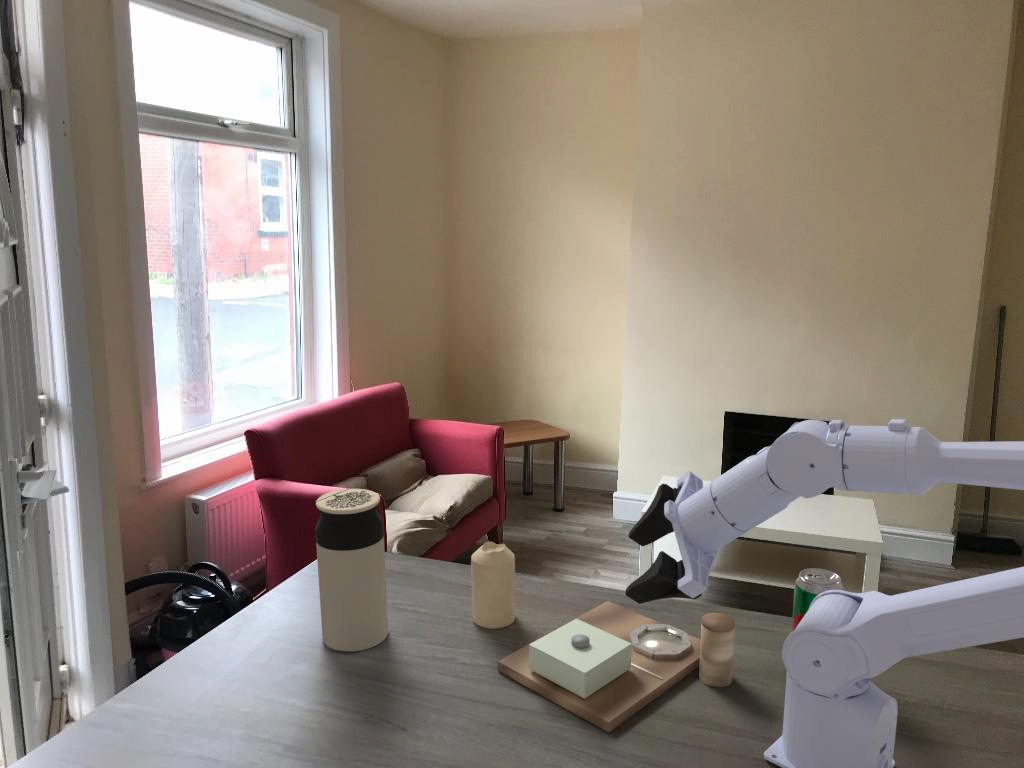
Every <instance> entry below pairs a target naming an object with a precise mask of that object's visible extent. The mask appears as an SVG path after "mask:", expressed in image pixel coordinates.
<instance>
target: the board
mask: <svg viewBox="0 0 1024 768" xmlns="http://www.w3.org/2000/svg"><path fill="white" fill-rule="evenodd" d="M575 619H579V620H581V621H583V622H585V623H587V624H590V625H592V626H594V627H596V628H598V629H601V630H603V631H605V632H607V633H609V634H612V635H614V636H616V637H618V638H620V639H623V640H625V641H627V642H629V643H631V641H630V632H632V631H634V630H635V629H637V628H638V627H640V626H642V625H645V624H663V623H661V622H660V621H656V620H654V619H652V618H650V617H647V616H645V615H643V614H640V613H637V612H636V611H632V610H631V609H629V608H627V607H625V606H621V605H619V604H616V603H614V602H612V601H609V600H606V601H605V602H603V603H601V604H599V605H597V606H595V607H594V608H592V609H590V610H588V611H586V612H585V613H583V614H581V615H579V616H578V617H575V618H574V619H572V620H570V621H568V622H567V623H569V622H571V621H573V620H575ZM567 623H565V624H563V625H560V626H559V627H557V628H556V629H558V628H560V627H562V626H564V625H566V624H567ZM556 629H554V630H552V631H550V632H548V633H546V634H545V635H543V636H542V637H544V636H546V635H547V634H549V633H551V632H553V631H555V630H556ZM687 635H688V637H689V640H690V642H691V650H690V651H689V652H687V653H686V654H684V655H683V656H681V657H680V658H677V659H654V658H653V659H651V658H649V657H647V656H645V655H643V654H641V653H638V652H636V651H634V649H633V648H631V668H630V669H629V670H627V671H626V672H624V673H623V674H621V675H620V676H618V677H617V678H615V679H614V680H612V681H611V682H609V683H608V684H606V685H605V686H603V687H602V688H600V689H599V690H597V691H595V692H594V693H592V694H591V695H589V696H588V697H586V698H585V699H584V698H582V697H580V696H579V695H577V694H575V693H573V692H571V691H569V690H567V689H566V688H564V687H562V686H560V685H558V684H556V683H554V682H553V681H551V680H549V679H547V678H545V677H543V676H541V675H540V674H538V673H536V672H534V671H532V670H530V669H529V644H531V643H533V642H535V641H536V640H538V639H540V638H542V637H539V638H537V639H536V640H534V641H531V642H530V643H528V644H527V645H524V646H522V647H521V648H518V649H517V650H516V651H514V652H512V653H511V654H508V655H506V656H505V657H503V658H501V659H499V660H498V661H497V671H498V672H500V673H501V674H503V675H505V676H507V677H509V678H510V679H512V680H514V681H516V682H517V683H520V684H521V685H523V686H524V687H526V688H528V689H530V690H532V691H534V692H535V693H537V694H538V695H541V696H542V697H544V698H546V699H548V700H549V701H551V702H554V703H555V704H557V705H559V706H560V707H562V708H564V709H565V710H567V711H569V712H571V713H572V714H575V715H577V716H578V717H580V718H582V719H583V720H586V721H587V722H589V723H590V724H592V725H594V726H596V727H598V728H599V729H601V730H603V731H605V732H606V733H610V732H612V731H613V730H615V728H617V727H618V726H620V725H621V724H623V723H624V722H626V721H627V720H628V719H629V718H631V717H632V716H634V715H635V714H637V712H639V711H641V710H642V709H643V708H645V707H646V706H647V705H649V704H650V703H651V702H653V701H654V700H655V699H657V698H659V697H660V696H661V695H662V694H664V693H665V692H666V691H668V690H670V689H671V688H672V687H673V686H675V685H677V684H678V683H679V682H680V681H682V680H683V679H684V678H686V677H687V676H688V675H690V674H692V673H693V672H694V671H696V670H697V669H698V668H699V665H700V643H701V638H700V639H699V638H697V637H695V636H693V635H690V634H688V633H687Z"/></svg>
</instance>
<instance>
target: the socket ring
mask: <svg viewBox="0 0 1024 768" xmlns="http://www.w3.org/2000/svg"><path fill="white" fill-rule="evenodd" d="M687 634H688V633H687V632H686V631H684V630H682V629H680V628H677V627H674V626H672V625H669V624H666V623H662V624H645V625H642V626H640V627H638V628H637V629H635V630H634V631H632V632H630V641H631V644H632V648H633V649H634V651H636V652H638V653H641V654H643V655H645V656H647V657H649V658H651V659H653V658H654V659H677V658H680V657H681V656H683V655H684V654H686V653H687V652H689V651H690V650H691V642H690V640H689V637H688V635H689V634H688V635H687Z"/></svg>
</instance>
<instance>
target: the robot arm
mask: <svg viewBox="0 0 1024 768" xmlns="http://www.w3.org/2000/svg"><path fill="white" fill-rule="evenodd" d="M908 424H909V423H908V420H907V419H906V418H892V419H890V421H889V422H888V423H887V426H886V425H855V424H854V425H852V424H851V425H849V424H848V425H847V424H846V425H845V422H844V420H843V419H833V420H831V421H829V423H828V422H826V421H823V420H821V419H820V420H819V419H807V420H803V421H800V422H798V421H796V422H794V423H793V424H792V425H790V427H789V428H788V430H787V431H785V432H784V433H783V434H781V435H780V436H779V437H777V438H776V439H775V441H773V443H772V444H770V445H769V446H765V447H763V448H761V449H760V450H759V451H758V452H757V453H756V454H753V455H750V456H748V457H746V458H745V459H743V460H742V461H740V462H739V463H738V464H736V465H735V466H733V467H732V468H730V469H729V470H727V471H726V472H724V473H722V474H721V475H719V476H718V477H716V478H715V479H714V480H712V481H711V482H709V483H708V484H706V485H705V486H704V482H703V481H704V480H703V479H701V477H699V476H697V475H696V474H695V473H693V472H692V471H691V470H689V471H687V472H685V474H683V475H682V476H680V477H679V478H677V479H676V486H677V487H674V488H672V487H671V486H670V485H668V484H667V483H662V484H660V485H659V486H658V488H657V490H656V493H655V496H654V498H653V500H652V501H651V503H650V505H649V506H648V508H647V509H646V511H645V512H644V513H643V515H642V516H641V517H640V519H639V520H638V521H637V522H636V523H635V525H634V526H633V527H632V528H631V530H630V531H629V533H628V538H629V539H630V540H632V541H633V542H635V543H636V544H638V546H641V547H645V546H648V545H650V544H653V543H654V542H656V541H658V540H660V539H662V538H663V537H665V536H667V535H670V534H671V533H673V532H674V535H675V538H676V543H677V547H678V550H679V553H680V557H681V559H680V560H679V561H677V560H676V558H673V557H672V556H670V554H668V553H666V552H665V551H663V550H661V551H659V552H658V555H657V557H656V559H655V560H654V562H653V563H652V565H651V566H650V567H649V568H648V569H647V570H646V571H645V572H644V573H643V574H641V575H640V576H639V577H637V578H636V579H635V580H633V581H632V582H631V583H630V584H629V585H628V586H627V587H626V589H625V596H626V597H628V598H629V599H631V600H632V601H634V602H635V603H637V604H639V605H641V604H645V603H648V602H652V601H656V600H663V599H674V598H675V599H691V600H698V599H699V598H701V597H702V596H703V593H705V592H706V591H708V580H709V577H710V574H711V570H712V568H713V566H714V563H715V560H716V557H717V555H718V552H719V550H720V549H721V548H723V547H725V546H726V545H728V544H730V543H731V542H732V541H735V540H736V539H738V538H739V537H741V536H743V535H745V534H746V533H748V532H749V531H751V530H753V529H754V528H756V527H757V526H759V525H761V524H763V523H764V522H766V521H767V520H769V519H771V518H772V517H775V516H776V515H777V514H779V513H781V512H783V511H784V510H786V508H788V507H789V505H790V504H792V503H793V502H794V501H796V500H797V499H799V498H800V497H803V498H805V499H812V498H816V497H818V496H820V495H821V494H823V493H824V492H826V491H827V490H828V489H830V488H835V489H837V490H841V491H844V492H845V491H848V492H861V493H862V492H863V493H877V494H893V495H895V494H896V495H904V496H905V495H908V496H912V495H913V496H923V495H925V494H926V493H927V492H929V491H930V490H931V489H932V488H933V487H934V486H936V485H937V484H939V483H949V484H959V485H960V484H961V485H969V486H981V487H989V488H997V489H998V488H1000V489H1009V490H1020V491H1024V440H1023V441H1022V440H1021V441H1017V440H1016V441H1014V440H1013V441H941V440H940V439H938V438H937V437H936V436H934V435H933V434H932V433H931V432H929V431H928V429H926V428H924V427H923V426H908ZM1022 638H1024V566H1021V567H1015V568H1011V569H1006V570H1002V571H998V572H993V573H989V574H984V575H979V576H975V577H970V578H966V579H965V578H964V579H961V580H957V581H956V580H955V581H952V582H948V583H943V584H938V585H935V586H930V587H925V588H920V589H916V590H911V591H907V592H901V593H897V594H893V595H889V594H886V593H882V592H881V591H877V590H871V591H866V592H851V591H846V590H844V591H843V590H829V591H825V592H823V593H821V594H819V595H818V596H816V597H815V598H814V599H813V601H812V603H811V604H810V606H809V610H808V611H807V613H806V614H805V616H804V617H803V619H802V620H801V621H800V623H799V624H798V626H797V627H796V629H795V630H794V631H792V632H790V633H789V635H788V636H787V637H786V639H785V640H784V641H783V645H782V650H781V653H782V656H781V657H782V662H783V665H784V667H785V670H786V683H785V692H784V693H785V697H784V705H783V707H784V710H783V720H782V721H783V722H782V735H781V736H780V737H778V739H777V740H775V742H773V743H772V744H771V745H770V746H769V747H768V748H767V749H766V750H765V751H764V752H763V758H764V759H765V761H769V762H770V763H772V764H774V765H777V766H778V767H780V768H894V767H895V765H896V761H895V759H894V751H895V744H896V743H895V742H896V732H897V723H898V713H899V710H898V707H899V706H898V701H897V700H896V698H894V697H892V696H890V695H889V694H887V693H886V692H884V691H883V690H881V689H879V687H878V686H877V685H875V684H874V683H873V682H872V681H871V679H872V678H875V677H877V676H879V675H881V674H882V673H884V672H885V671H887V670H888V669H890V668H891V667H892V666H895V664H897V663H899V662H900V661H902V660H903V659H906V658H912V657H917V656H923V655H929V654H935V653H941V652H946V651H952V650H958V649H964V648H970V647H976V646H980V645H982V646H983V645H988V644H994V643H998V642H1005V641H1010V640H1011V641H1012V640H1016V639H1022Z"/></svg>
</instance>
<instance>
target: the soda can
mask: <svg viewBox="0 0 1024 768" xmlns="http://www.w3.org/2000/svg"><path fill="white" fill-rule="evenodd" d="M793 590H794V591H793V605H792V618H791V632H792V631H794V630H795V629H796V627H797V626H798V624H799V623H800V621H801V620H802V619H803V617H804V616H805V614H806V613H807V611H808V610H809V606H810V604H811V603H812V601H813V599H814V598H815V597H816V596H818V595H819V594H821V593H823V592H825V591H829V590H843V591H845V588H844V585H843V584H842V579H841V577H840V575H839V574H837V573H835V572H834V571H831V570H828V569H824V568H816V567H815V568H814V567H812V568H811V567H809V568H804V569H803V570H800V571H799V573H798V577H797V579H796V580H795V581H794V589H793ZM791 632H790V633H791Z"/></svg>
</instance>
